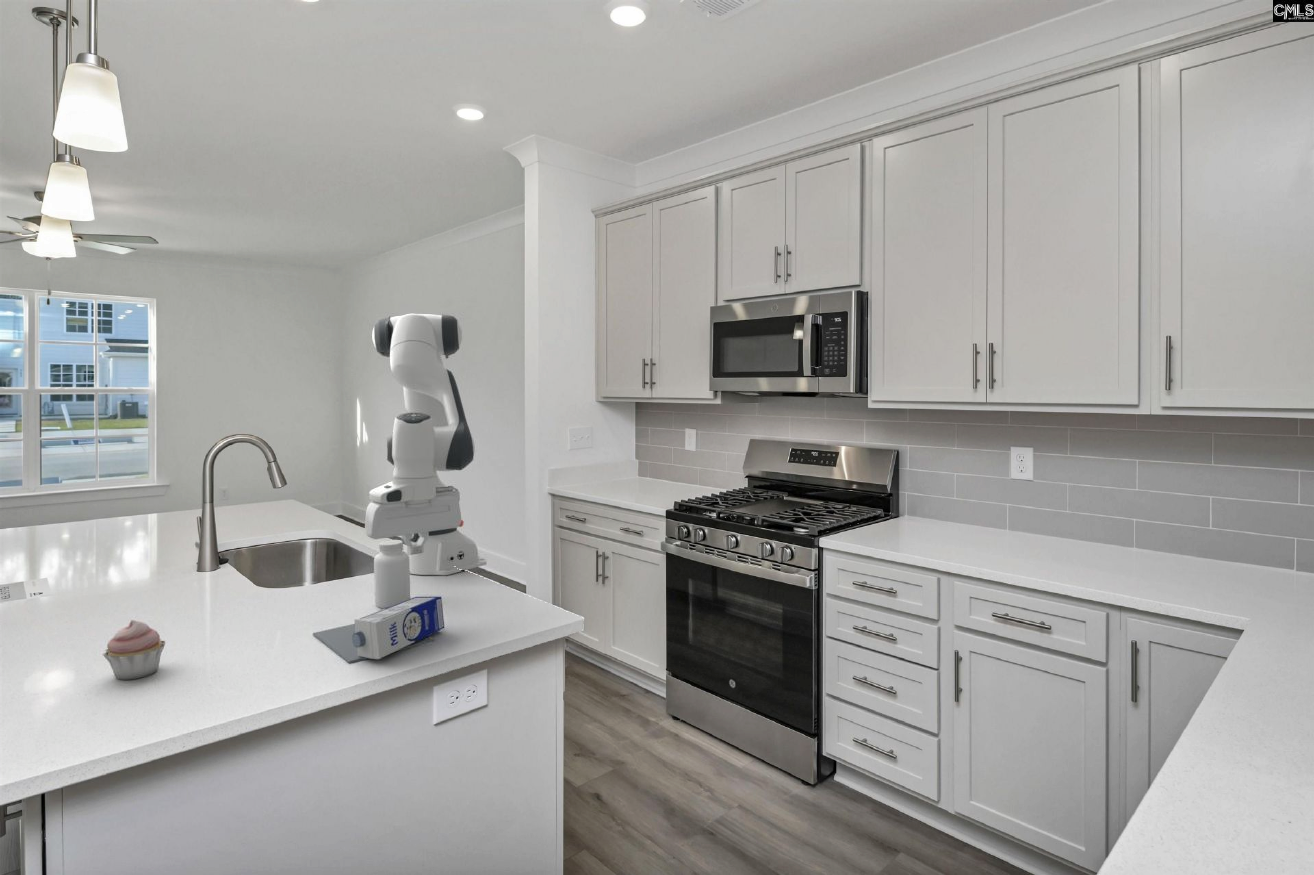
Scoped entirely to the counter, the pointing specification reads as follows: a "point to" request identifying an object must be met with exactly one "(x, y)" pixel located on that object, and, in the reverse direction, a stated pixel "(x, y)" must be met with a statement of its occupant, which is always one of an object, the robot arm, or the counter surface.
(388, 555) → the pill bottle
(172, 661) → the counter surface
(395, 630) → the milk carton
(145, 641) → the cupcake
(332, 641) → the mat
